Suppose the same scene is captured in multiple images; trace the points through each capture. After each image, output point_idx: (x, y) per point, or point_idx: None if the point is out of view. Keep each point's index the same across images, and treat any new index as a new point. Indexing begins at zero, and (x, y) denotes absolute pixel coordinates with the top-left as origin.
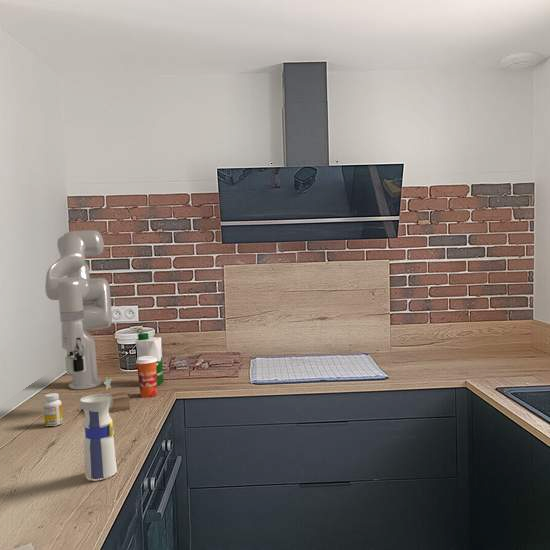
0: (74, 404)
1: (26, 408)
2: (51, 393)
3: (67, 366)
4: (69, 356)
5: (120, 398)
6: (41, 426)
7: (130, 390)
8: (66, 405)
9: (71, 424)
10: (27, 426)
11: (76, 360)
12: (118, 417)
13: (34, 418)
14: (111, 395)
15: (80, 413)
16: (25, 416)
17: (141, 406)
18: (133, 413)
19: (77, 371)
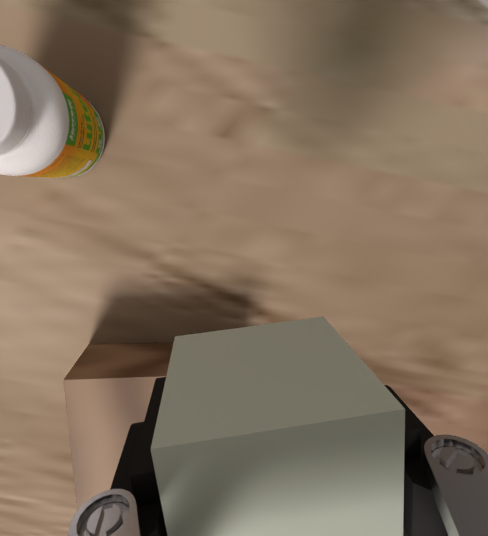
0: (354, 286)
1: (459, 74)
2: (11, 105)
3: (291, 349)
4: (380, 465)
5: (75, 476)
6: (71, 70)
7: None
8: (365, 253)
9: (18, 208)
10: (117, 3)
11: (109, 506)
12: (12, 403)
13: (246, 70)
14: None
15: (185, 280)
16: (316, 37)
17: None
18: (38, 462)
19: None
